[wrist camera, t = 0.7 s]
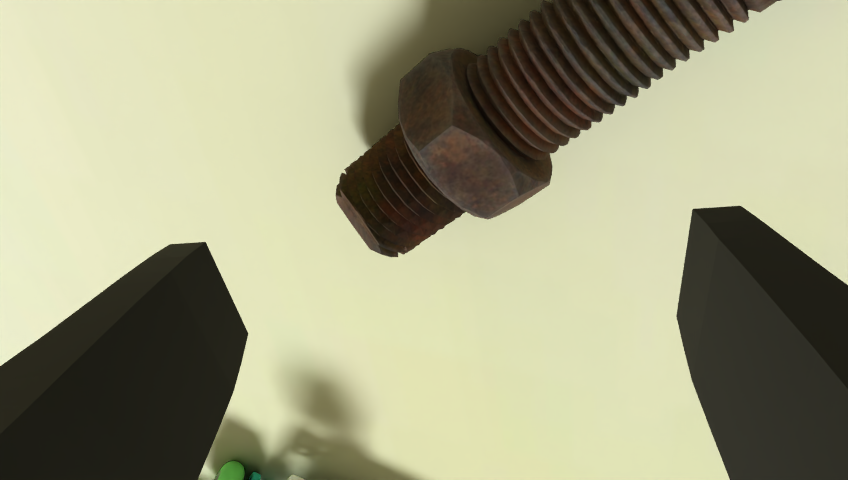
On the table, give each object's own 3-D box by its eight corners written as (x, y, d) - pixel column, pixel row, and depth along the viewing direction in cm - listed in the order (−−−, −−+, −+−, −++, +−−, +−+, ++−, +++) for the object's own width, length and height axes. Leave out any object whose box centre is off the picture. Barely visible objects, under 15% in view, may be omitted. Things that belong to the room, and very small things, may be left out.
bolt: (378, 144, 21) (817, -226, 14) (451, 265, 21) (948, -50, 13) (262, 156, 16) (852, -418, 9) (355, 314, 16) (1067, -145, 8)
